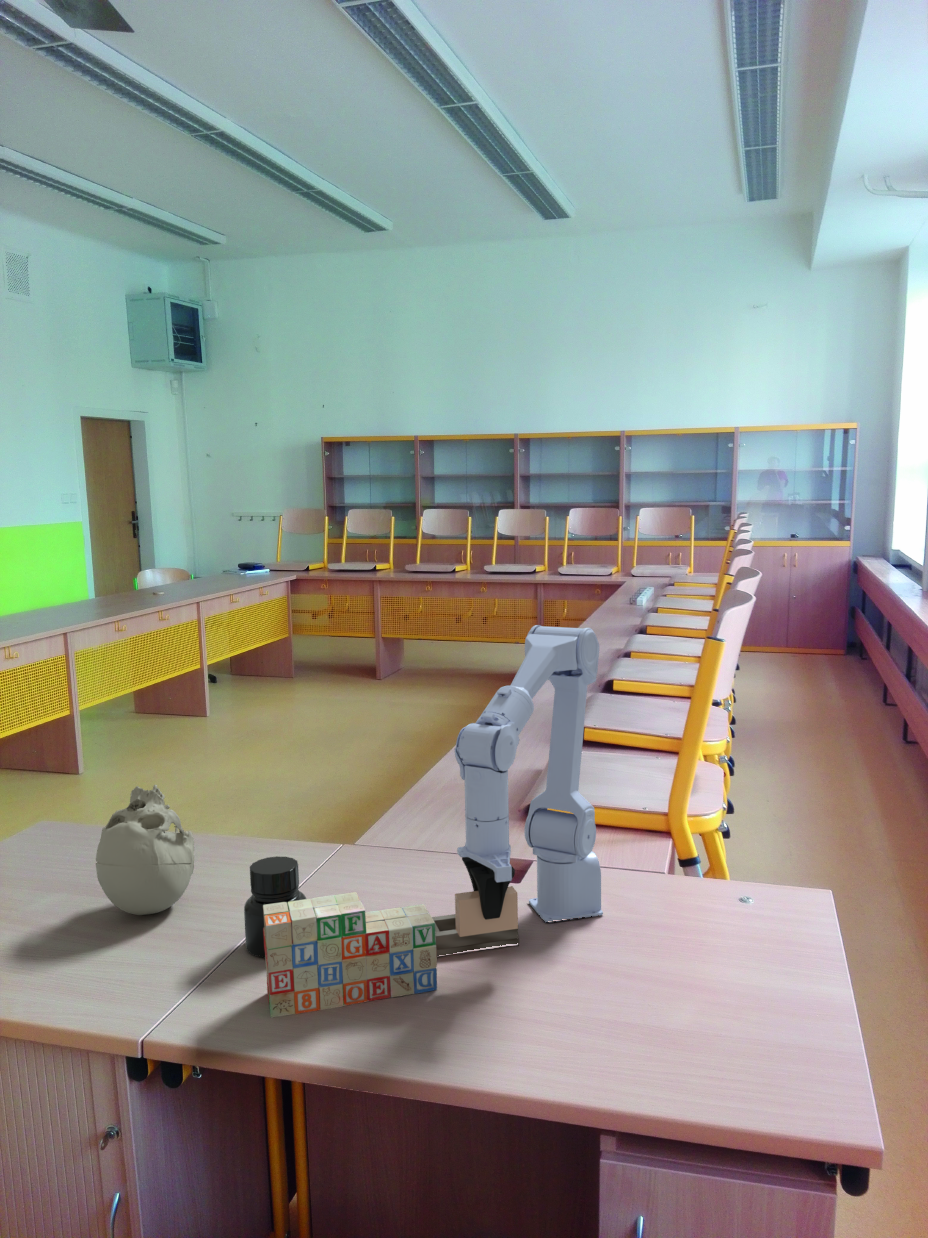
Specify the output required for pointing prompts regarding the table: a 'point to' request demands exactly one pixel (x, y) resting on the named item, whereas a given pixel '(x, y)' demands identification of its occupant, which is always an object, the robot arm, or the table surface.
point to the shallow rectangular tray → (467, 937)
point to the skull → (144, 855)
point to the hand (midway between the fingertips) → (488, 913)
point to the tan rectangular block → (472, 916)
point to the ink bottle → (268, 895)
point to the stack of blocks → (345, 953)
